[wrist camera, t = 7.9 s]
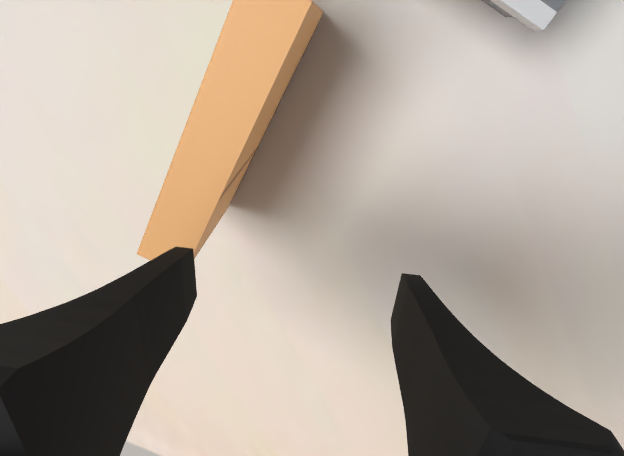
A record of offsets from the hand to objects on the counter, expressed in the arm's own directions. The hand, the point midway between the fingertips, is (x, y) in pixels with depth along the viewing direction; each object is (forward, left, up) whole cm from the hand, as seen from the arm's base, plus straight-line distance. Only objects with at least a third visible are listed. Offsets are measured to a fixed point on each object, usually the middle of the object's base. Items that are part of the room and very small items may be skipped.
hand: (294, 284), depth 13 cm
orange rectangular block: (+5, -2, -8) cm, 10 cm away
